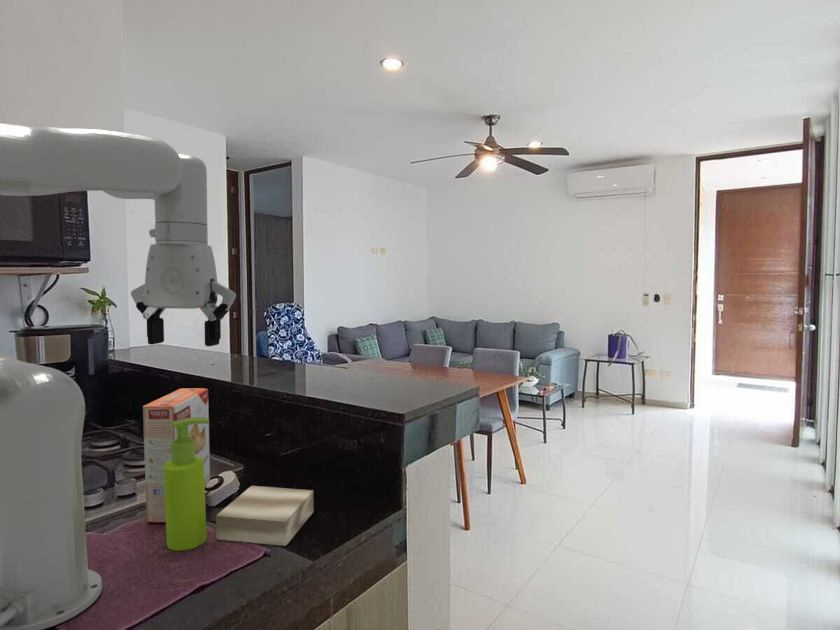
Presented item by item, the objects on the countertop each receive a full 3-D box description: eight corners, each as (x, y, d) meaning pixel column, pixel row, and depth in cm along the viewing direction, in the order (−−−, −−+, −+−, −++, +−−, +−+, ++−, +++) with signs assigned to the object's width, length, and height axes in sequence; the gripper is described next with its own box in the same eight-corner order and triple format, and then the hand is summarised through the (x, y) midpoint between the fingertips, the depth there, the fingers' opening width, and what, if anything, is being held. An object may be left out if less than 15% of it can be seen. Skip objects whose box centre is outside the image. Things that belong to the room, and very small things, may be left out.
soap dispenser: (216, 542, 85) (212, 421, 83) (169, 554, 82) (163, 428, 80) (209, 527, 90) (205, 412, 88) (164, 538, 86) (159, 418, 85)
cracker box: (180, 524, 91) (174, 405, 89) (145, 524, 91) (139, 405, 89) (213, 490, 105) (209, 386, 103) (183, 490, 105) (178, 386, 103)
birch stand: (285, 545, 84) (285, 521, 84) (216, 539, 86) (215, 515, 86) (313, 511, 96) (313, 490, 95) (252, 506, 98) (251, 485, 98)
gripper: (115, 234, 81) (118, 345, 82) (221, 234, 78) (222, 349, 79) (147, 238, 88) (149, 340, 89) (245, 238, 86) (246, 343, 87)
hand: (184, 344), depth 84 cm, fingers open, 9 cm apart
